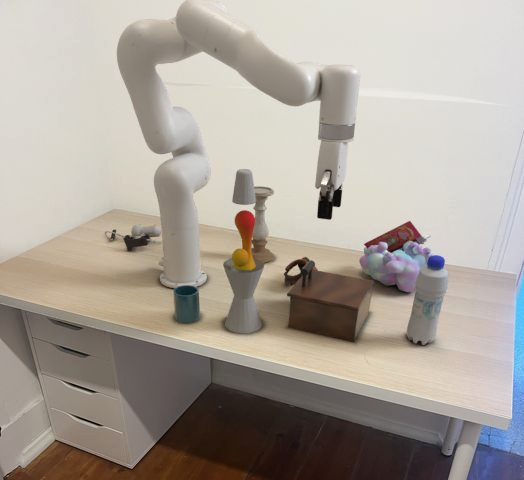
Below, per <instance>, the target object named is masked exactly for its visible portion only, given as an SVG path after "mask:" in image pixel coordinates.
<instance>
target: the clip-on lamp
mask: <svg viewBox="0 0 524 480" xmlns="http://www.w3.org/2000/svg"><path fill="white" fill-rule="evenodd" d="M107 233H110V234H111V235H110V237H109V236H108V234H107ZM104 236H105V237H106V239H108V240H109V241H113V240H115V237H116V236H119V237H122V238H123V242H124V244H125V247H126V249H127V251H128V252H130V251H132V250H133V249H134V248H140V247H147V246H148V245H149V243H150V242H151V243H155V240H153V239H152V238H159V237H160V236H162V229H161V227H160V226H159V225H148V226H147V225H146V226H144V225H143V224H138V223H137V224H135V225H133V226H132V227H131V233H130V234H125V235H123V234H121V233H117V228H114V229H112V231H111V230H110V231H109V230H105V231H104Z"/></svg>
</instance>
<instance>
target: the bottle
mask: <svg viewBox="0 0 524 480" xmlns="http://www.w3.org/2000/svg"><path fill="white" fill-rule="evenodd" d="M445 263H446V260H445V257H443V256H442V255H438V254H433V256H430V257H429V259H428V262H427V266H424V267H422V268H421V269H420V271H419V274H418V276H417V279H416V282H415V290H414V291H415V292H414V296H413V297H414V298H413V302H412V306H411V311H410V312H411V313H410V316H409V320H408V323H407V328H406V336H407V339H408V340H409V341H412V342H413V344H418V342H421V345H423V346H424V345H426V344H431V343H432V342H433V341H434V340H435V337H436V335H437V332H438V324H439V318H440V314H441V309H442V305H443V301H444V297H445V296H446V294H447V290H448V288H449V278H450V277H449V276H450V274H449V270H447V269H446V268H444V267H445Z"/></svg>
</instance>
